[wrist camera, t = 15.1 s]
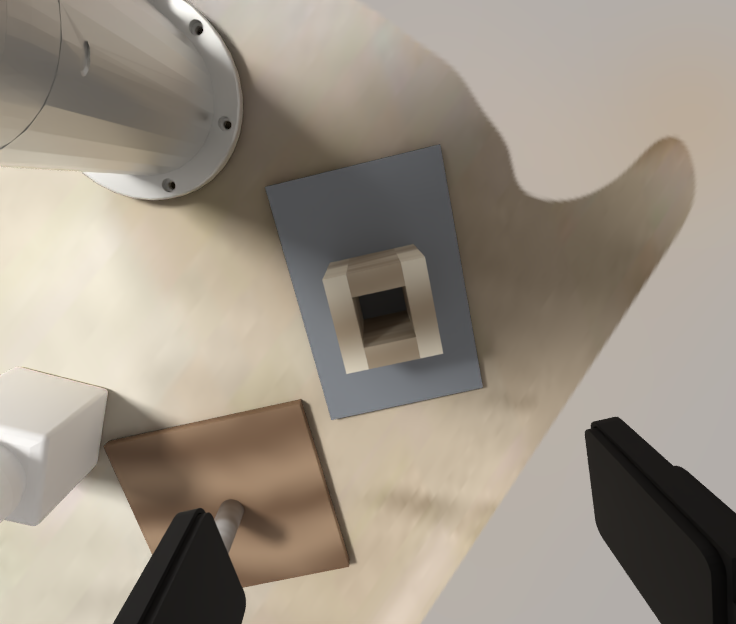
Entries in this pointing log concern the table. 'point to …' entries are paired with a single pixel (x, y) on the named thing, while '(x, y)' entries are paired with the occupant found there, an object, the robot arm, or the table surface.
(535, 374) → the table surface
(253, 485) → the peg stand
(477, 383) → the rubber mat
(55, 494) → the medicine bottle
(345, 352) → the ring block
